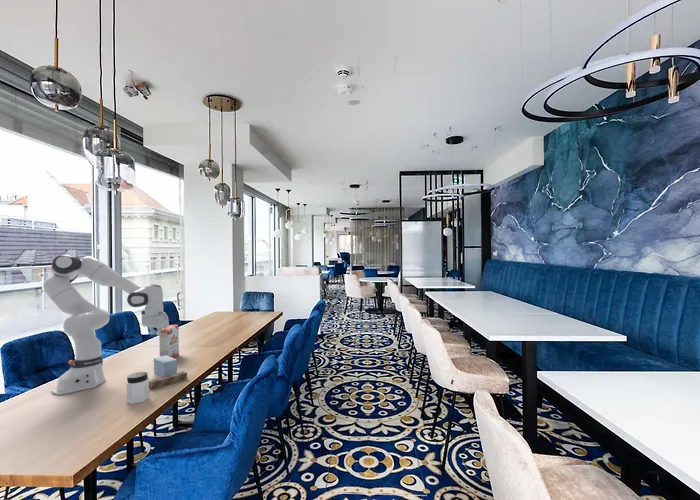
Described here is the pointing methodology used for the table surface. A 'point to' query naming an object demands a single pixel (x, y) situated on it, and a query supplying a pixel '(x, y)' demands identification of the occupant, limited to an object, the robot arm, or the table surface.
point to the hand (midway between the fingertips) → (155, 334)
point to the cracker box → (169, 341)
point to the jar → (137, 387)
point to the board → (167, 380)
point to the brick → (165, 366)
